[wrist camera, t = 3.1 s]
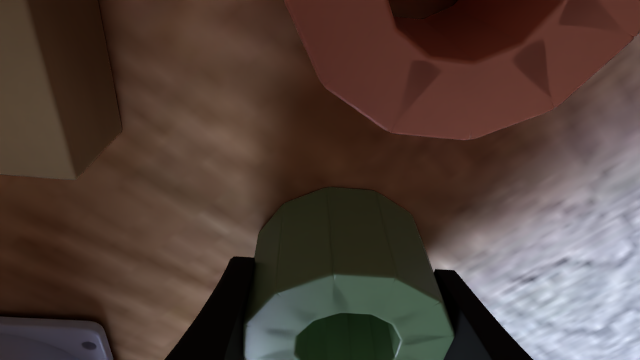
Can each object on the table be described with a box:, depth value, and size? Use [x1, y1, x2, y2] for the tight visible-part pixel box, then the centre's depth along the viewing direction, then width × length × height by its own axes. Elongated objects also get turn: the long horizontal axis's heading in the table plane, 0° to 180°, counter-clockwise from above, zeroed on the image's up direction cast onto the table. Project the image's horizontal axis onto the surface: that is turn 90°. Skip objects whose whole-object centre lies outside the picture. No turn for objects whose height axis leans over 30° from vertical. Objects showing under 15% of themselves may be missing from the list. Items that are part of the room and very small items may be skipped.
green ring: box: [243, 187, 455, 360], centre depth 12 cm, size 6×6×4 cm
